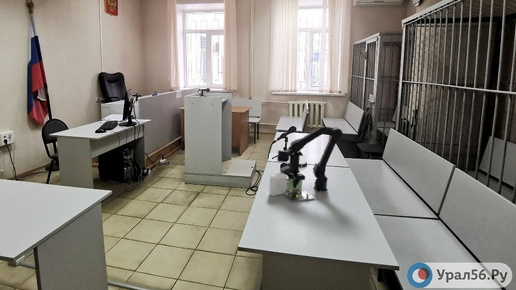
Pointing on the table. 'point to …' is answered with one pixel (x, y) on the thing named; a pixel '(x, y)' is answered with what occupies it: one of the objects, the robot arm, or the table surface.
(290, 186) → the block
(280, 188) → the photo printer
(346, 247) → the table surface
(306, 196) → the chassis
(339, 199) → the table surface
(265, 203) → the table surface
